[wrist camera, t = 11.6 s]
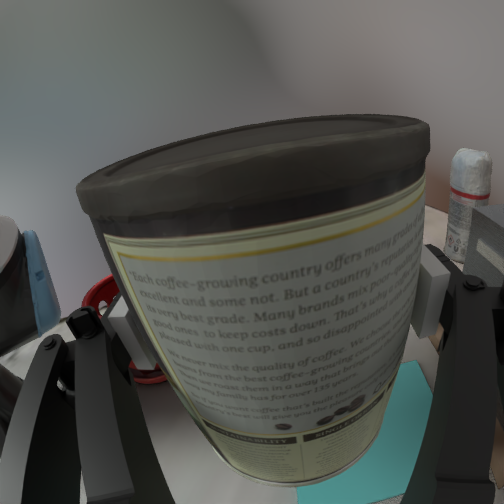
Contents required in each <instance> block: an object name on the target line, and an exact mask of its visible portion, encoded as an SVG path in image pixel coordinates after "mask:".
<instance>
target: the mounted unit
mask: <svg viewBox="0 0 504 504" xmlns="http://www.w3.org/2000/svg"><path fill="white" fill-rule="evenodd" d="M462 273H463V274H464V275H474V276H477V277H479V278H481V279H483V280H484V281H485V282H486V284H487V286H488V287H502V283H503V280H504V204H500V205H490V206H482V207H473V209H472V218H471V226H470V233H469V239H468V246H467V251H466V257H465V262H464V267H463V272H462ZM443 330H444V329H443V327H442V326H441V324H440V323H439V325H438V328H437V332H436V334H435V335H431V336H428V337H429V339H430V340H431V342H432V344H433V345H434V347H435V349H436V351H437V349H438V346H439V343H440V340H441V337H442V334H443ZM438 354H440V351H439V352H438ZM490 466H491V469H492V472H493V474H494V477H495V480H496V483H497V487H498V489H500V488H501V487H503V486H504V412H503V407H502V401H501V397H500V392H499V388H498V383H497V412H496V426H495V436H494V444H493V451H492V458H491V464H490Z"/></svg>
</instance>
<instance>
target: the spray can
mask: <svg viewBox="0 0 504 504" xmlns="http://www.w3.org/2000/svg"><path fill="white" fill-rule="evenodd" d="M491 173H492V159H491V157H490V155H489V154H488V153H487V152H485V151H484V152H481V151H475V150H470V149H467V148H462V149H460V150H459V151H458V152H457V153H456V155H455V156H454V158H453V160H452V165H451V174H450V185H451V186H450V187H451V188H450V203H449V214H448V225H447V235H446V242H445V247H444V251H445V253H446V255H447V256H449V257H450V258H451V259H452V260H454V261H457V262H460V263H464V262H465V257H466V251H467V246H468V239H469V233H470V226H471V218H472V209H473V207H482V206H488V200H489V196H490V190H491Z"/></svg>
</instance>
